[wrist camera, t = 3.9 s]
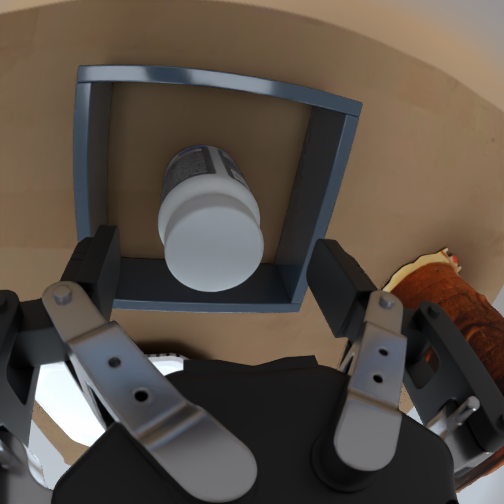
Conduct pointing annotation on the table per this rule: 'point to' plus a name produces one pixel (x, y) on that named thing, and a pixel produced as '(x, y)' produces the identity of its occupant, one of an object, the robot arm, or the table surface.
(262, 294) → the square frame
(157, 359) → the plate
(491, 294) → the table surface
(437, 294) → the vessel
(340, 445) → the robot arm
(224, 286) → the pill bottle
